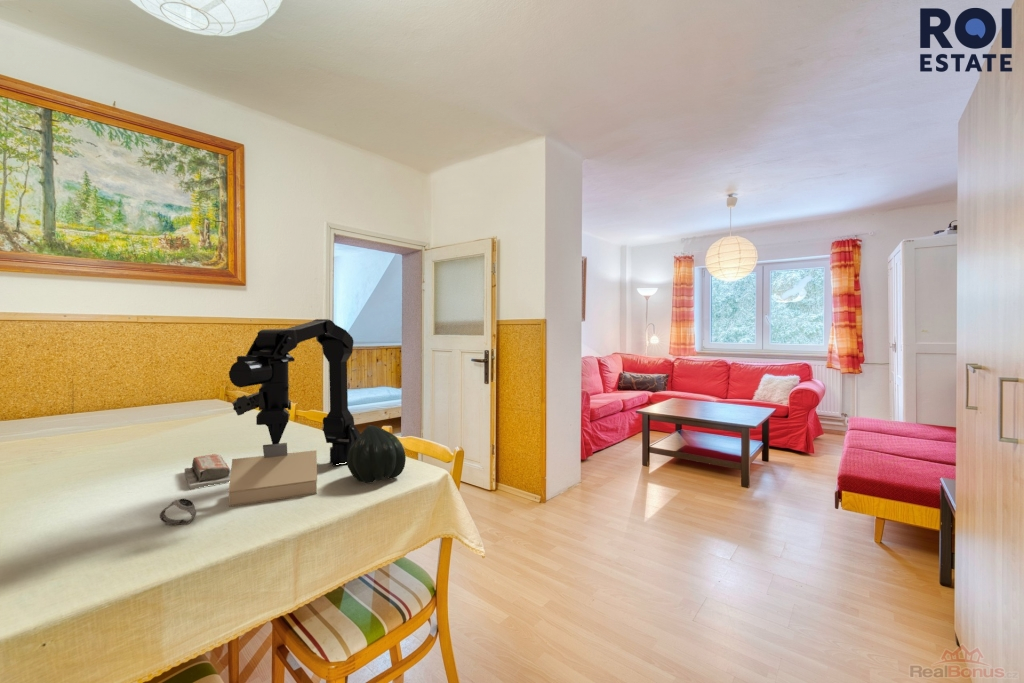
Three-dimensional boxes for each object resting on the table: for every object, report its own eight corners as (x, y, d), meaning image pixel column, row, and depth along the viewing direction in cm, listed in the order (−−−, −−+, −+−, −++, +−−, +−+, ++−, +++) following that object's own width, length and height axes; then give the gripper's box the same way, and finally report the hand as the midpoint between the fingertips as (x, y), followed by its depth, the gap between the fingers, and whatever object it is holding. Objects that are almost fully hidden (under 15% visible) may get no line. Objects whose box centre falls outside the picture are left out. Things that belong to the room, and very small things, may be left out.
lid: (316, 451, 108) (316, 439, 105) (317, 480, 103) (317, 469, 100) (232, 460, 100) (229, 448, 97) (228, 492, 95) (225, 481, 92)
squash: (409, 465, 108) (403, 415, 117) (347, 474, 103) (345, 421, 112) (405, 488, 118) (399, 440, 127) (348, 497, 113) (346, 446, 122)
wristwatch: (190, 525, 86) (190, 501, 86) (156, 528, 84) (155, 503, 84) (200, 518, 89) (199, 495, 89) (166, 521, 88) (166, 497, 88)
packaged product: (183, 456, 119) (226, 450, 125) (183, 474, 119) (226, 467, 125) (189, 472, 105) (236, 464, 112) (189, 491, 105) (236, 483, 112)
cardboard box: (315, 483, 110) (315, 472, 110) (316, 493, 103) (316, 481, 103) (234, 494, 102) (234, 482, 102) (229, 506, 95) (229, 493, 95)
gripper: (241, 378, 106) (241, 439, 106) (228, 388, 89) (229, 461, 90) (291, 376, 111) (291, 435, 111) (288, 386, 94) (288, 455, 94)
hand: (275, 445), depth 101 cm, fingers closed, pressing on lid
